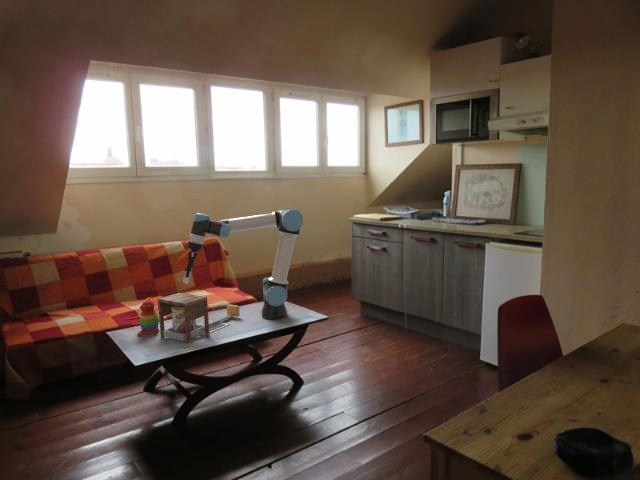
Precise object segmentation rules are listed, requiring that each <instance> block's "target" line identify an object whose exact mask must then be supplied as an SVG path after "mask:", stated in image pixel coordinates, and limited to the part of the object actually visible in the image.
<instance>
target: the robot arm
mask: <svg viewBox="0 0 640 480" xmlns="http://www.w3.org/2000/svg"><path fill="white" fill-rule="evenodd" d="M210 218H211V216H210V215H209V214H205V213H201V212H198V213H195V216H194V218H193V219H194V220H193V222H192V227H191V230H190V234H188V237H189V240H188V243H187V249H189V250H191V251H189V252H188V258H187V261H188V262H187V265H186V268H184V271H185V273H184V276H183V281H182V283H183V284H186V285H188V284H189V281H190V278H191V276H192V275H191V274H192V271H193V268H194V266H195V265H194V262H196V261H195V260H196V257H197V255H198V254H197V253H198V252H201V251H202V249H203V245H204V242H205V238H206V234H208V235H212V236H215V237H216V236H217V237H219V238H225V239H228V237H229V236H230V233H233V232H234V233H236V232H243V231H249V230H255V229H263V228H271V227H274V228H275V229H277V228H278V229H277V231H278V233H279V239H278V245H277V248H276V249H277V250H276V253H275V258H274V262H273V263H274V264H273V268H272V271H271V276H270V277H264V278H263V279H262V289H263V290H262V291H263V293H262V294H263V305H262V309H261V318H263V319H264V320H280V319H283V318H286V317H287V316H288V310H287V307H286V305H285V303H286V301H287V299H288V287H289V283H290V282H289V280H287V278H288V275H289V269H290V265H291V261H292V256H293V251H294V246H295V243H296V242H295V241H296V239H297V238H298V236H299V235H300V231H301V228H302V227H303V224H304V217H303V214H302V213H301V212H300V211H299V210H298V209H295V208H292V207H286V208H283V209H279V210H274V211H272V213H271V212H270V213H265V214H257V215H251V216H242V217H235V218H228V219H218V220H212V219H210ZM197 251H198V252H197Z"/></svg>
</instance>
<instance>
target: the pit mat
mask: <svg viewBox="0 0 640 480" xmlns="http://www.w3.org/2000/svg"><path fill="white" fill-rule="evenodd" d="M210 321H211V320H210V319H209V322H210ZM197 324H198V325H202V324H205V323H204V322H202V323H197ZM230 325H231V324H230V323H226V322H222V321H221V322H218V323H215V324H213V325H210V326H209V334H211V333H214V332H217V331H219V330H221V329H223V328H225V327H229V326H230Z"/></svg>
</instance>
